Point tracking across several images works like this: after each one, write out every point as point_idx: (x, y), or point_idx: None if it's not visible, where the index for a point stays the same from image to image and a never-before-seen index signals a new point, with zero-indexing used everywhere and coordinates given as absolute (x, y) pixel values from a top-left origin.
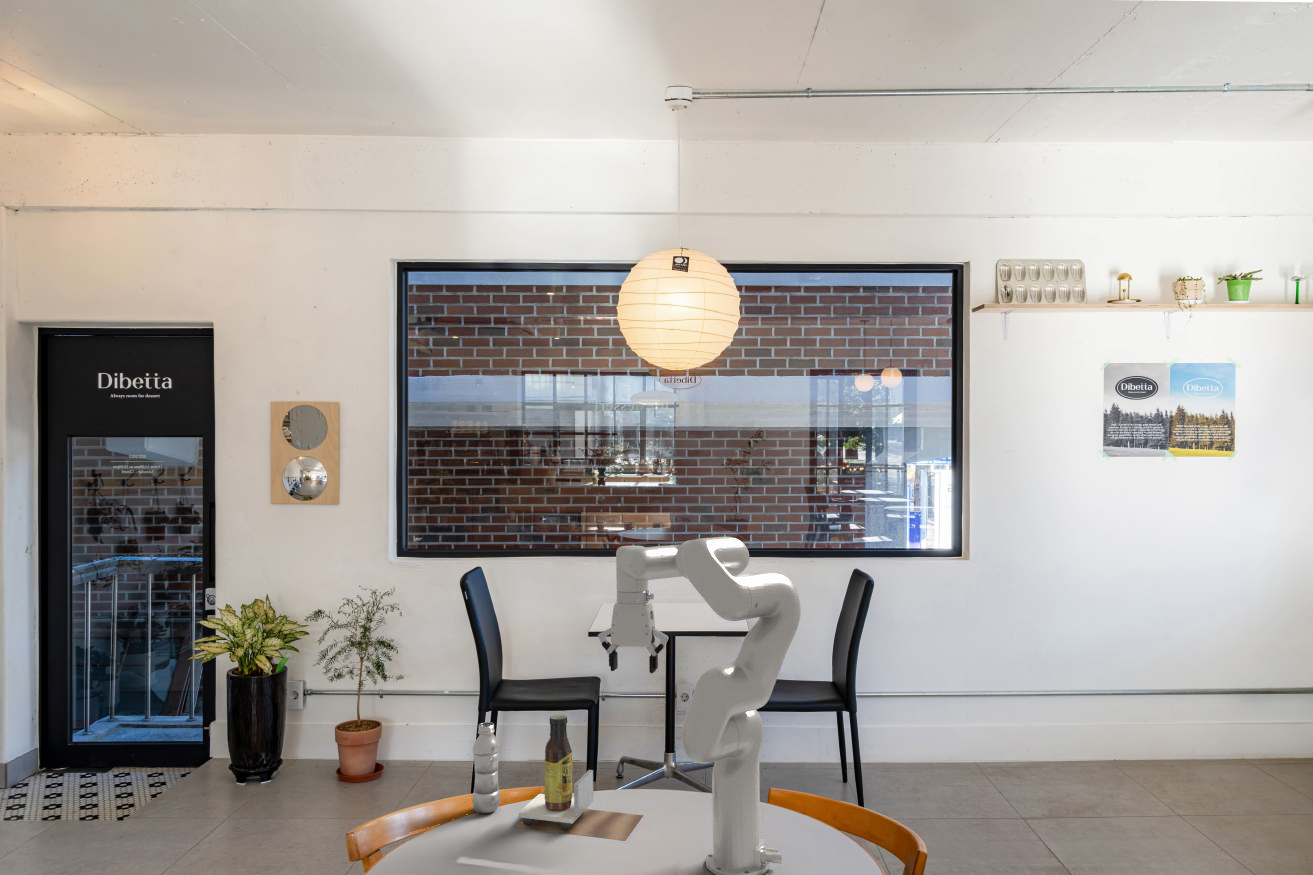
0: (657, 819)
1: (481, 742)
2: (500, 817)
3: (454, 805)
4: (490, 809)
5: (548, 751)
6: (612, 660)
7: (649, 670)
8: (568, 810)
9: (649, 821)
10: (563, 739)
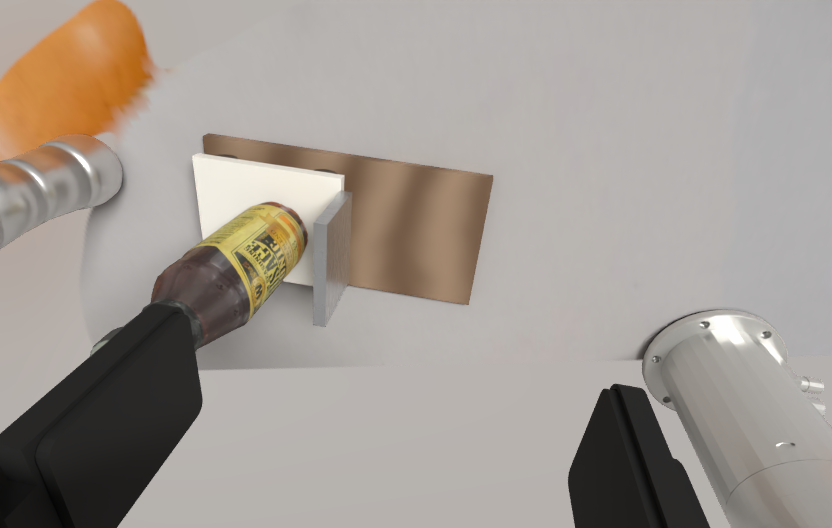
0: (529, 169)
1: None
2: (153, 195)
3: (13, 141)
4: (117, 191)
5: None
6: (131, 498)
7: (570, 496)
8: (311, 249)
9: (509, 183)
10: (206, 342)
